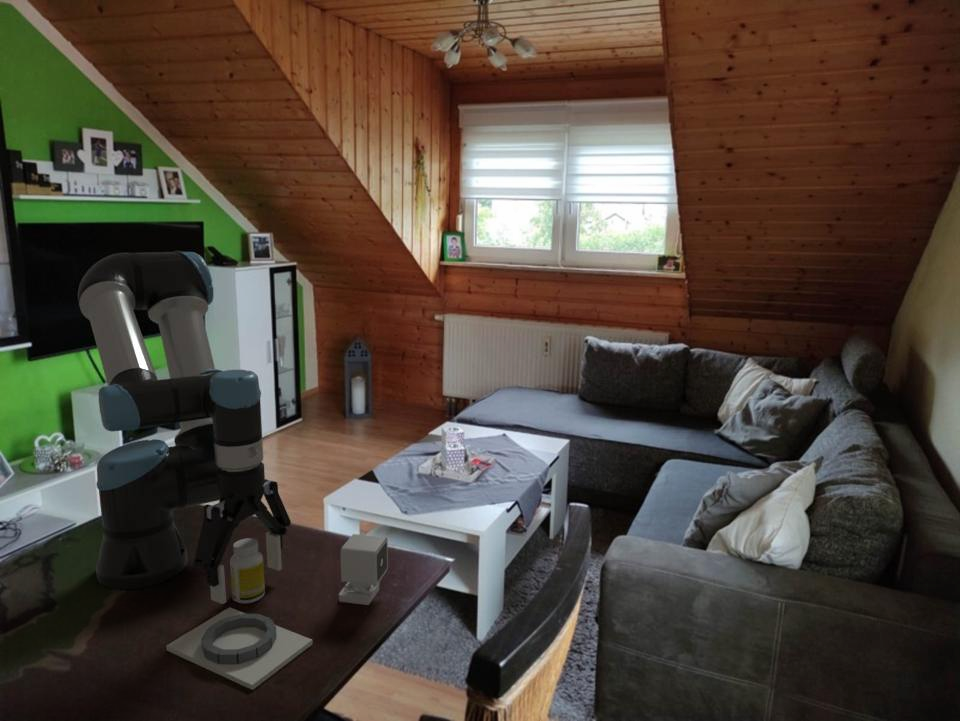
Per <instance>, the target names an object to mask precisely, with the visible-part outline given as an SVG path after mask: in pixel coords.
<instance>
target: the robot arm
mask: <svg viewBox="0 0 960 721" xmlns="http://www.w3.org/2000/svg"><path fill="white" fill-rule="evenodd" d="M211 275H212V274H211V271H210V269H209V266H208V264H207V263H206V261H205V259H204V257H202V256H201V255H200V254H198V253H196V252H193V251H181V250H174V251H165V252H164V251H163V252H162V251H161V252H160V251H158V252H157V251H154V252H153V251H152V252H150V251H149V252H118V253H114V254H110V255H107V256H105V257H103V258H101V259H100V260H99V261H97V262H96V263H94V264H93V265H92V266H91V267H90V268H88V270H87V271H86V273H85V274H84V275H83V277H82V279H80V283H79V286H78V290H77V301H78V305H79V308H80V312H81V313H82V315H83V316H84V317H85V318H86V319H87V320H89V322H90V323H89V324H90V325H91V329H92V333H93V336H94V341H95V344H96V348H97V352H98V354H99V357H100V362H101V366H102V370H103V373H104V377H105V380H106V384H107V385H105V386H103V387H101V388H100V389H98V390H99V391H98V405H99V406H98V407H99V414H100V417H101V418H100V419H101V424H102V426H103V428H104V430H106V431H109V432H121V431H136V430H139V429H145V428H151V427H157V426H158V427H159V426H164V425H165V426H166V425H170V424H176V423H178V424H179V427H180V429H179V431H178V433H177V434H175V436H174V439H173V440H174V441H173V442H174V446H169V445H168V444H167V442H166V441H164V440H161V439H150V440H149V439H144V440H137V441H134V442H130V443H126V444H123V445H119V446H117V447H115V448H113V449H111V450H110V451H108V452H107V453H105V454H103V456H101V458H100V459H99V460H98V462H97V465H96V478H97V481H96V483H95V484H96V488H97V489H98V492H99V493H98V495H99V503H100V504H99V506H100V514H101V524H102V532H103V533H102V534H103V536H102V541H101V543H100V544H101V545H100V549H99V553H98V559H97V561H96V563H95V571H96V579H97V582H98V583H99V584H100V585H102V586H103V587H105V588H108V589H114V590H133V589H140V588H141V589H142V588H145V587H150V586H154V585H156V584H160V583H162V582H166V581H168V580H169V579H172V578H173V577H175V576H176V575H178V574H179V573H181V572H182V571H183V570H184V569H185V567H186V566H187V564H188V562H189V561H188V552H187V550H188V549H187V547H186V545H185V542H184V540H183V539H182V536H181V535H180V533H179V531H178V529H177V526H176V525H175V521H174V520H175V518H174V511H176V510H180V509H185V508H189V507H194V506H200V505H204V504H205V505H204V506H203V522H202V527H201V531H200V534H199V539H198V543H197V546H196V551H195V555H194V557H193V558H194V559H193V566H194V567H197V568H199V569H201V570H205V580H206V584H207V586H210V598H211V599H210V600H211V601H213V602H216V603H218V604H220V605H223V604H225V603H227V590H226V578H225V577H226V576H225V566H224V564H221V562H222V559H223V558H224V555H225V554H226V553H225V552H226V550H227V548H228V546H229V543H230V540H231V538H232V536H233V533H234V530H235V529H236V528H238V527H239V525H240V523H241V522H242V521H244V520H246V519H248V517H252V516H256V517H257V518H258V519H259V521H261V523H262V524H263V525H264V526H265V527H266V528H267V530H269V531H270V532H266V533H265V544H266V547H265V548H266V560H267V561H266V562H267V568H269V569H271V570H272V569H273V570H275V571H278V572H279V571H281V570H282V568H283V567H282V549H283V546H284V545H283V536H284V535H286V534H287V533H288V529H287V528H288V527H290V526H291V523H292V522H291V518H290V516H289V514H288V512H287V510H286V507H285V504H284V502H283V500H282V498H281V496H280V493H279V487H278V486H279V484H278V482H277V481H274V480H272V479H271V480H270V479H267V478H265V477H266V476H265V474H266V473H265V463H264V462H263V461H264V444H263V425H262V409H261V407H262V406H261V396H262V391H261V389H260V383H259V376H258V374H257V373H255V372H254V371H252V370H245V369H230V370H229V369H228V370H220V369H216V366H215V363H214V359H213V355H212V350H211V346H210V341H209V337H208V333H207V329H206V324H205V320H204V316H206V313H207V312H208V310H209V305H211V304H212V302H213V300H214V294H215V293H214V286H213V279H212V276H211ZM135 310H137V311H138V310H139V311H140V310H146V312H147V316H148V318H149V320H150V321H152V322H153V323H156V324H157V325H158V328H159V332H160V337H161V341H162V342H161V343H162V346H163V352H164V356H165V361H166V365H167V370H168V376H169V378H163V379H158V376H157V373H156V370H155V368H154V365H153V362H152V360H151V357H150V353H149V351H148V349H147V345H146V343H145V340H144V339H145V338H144V337H143V334H142V332H141V329H140V326H139V323H138V320H137V317H136V314H135ZM263 496H264V498H265V499H264V500H265V501H266V503H267V505H268V506H266V504H265V503H264V502H263V501H262V499H263ZM217 501H218V502H217ZM214 502H217V503H214ZM208 503H214V504H212V505H211V504H208ZM268 507H269V509H270V511H269V510H268ZM228 518H229V519H230V520H228ZM286 527H287V528H286Z"/></svg>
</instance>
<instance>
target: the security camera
mask: <svg viewBox="0 0 960 721" xmlns="http://www.w3.org/2000/svg"><path fill="white" fill-rule="evenodd" d="M388 542H389V541H388V537H387V536H385V537H384V536H379V535H378V536H377V535H367V534H358V533H357V534H356V533H353V534H352V535H351V536H350V537H349V538H348V540H346V542H344V544H343V545H342V546H341V548H340V576H341V582H342V583H345V582H346V584H345V585H344V587H343V588H342V589H341V590H340V591H339V593H338V601H339V602H340V603H349V604H356V605H366V606H369V605H370V604H371V602H372V601H373V600H374V599H375V596H376V595H377V594H378V593H379V590H380V583H381V580H382V579H383V578H384V576H385V575H386V573H387V571H388V569H389V550H388V546H389V545H388V544H389V543H388Z"/></svg>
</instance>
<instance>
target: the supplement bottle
mask: <svg viewBox="0 0 960 721" xmlns="http://www.w3.org/2000/svg"><path fill="white" fill-rule="evenodd" d="M232 546H233V547H232V549H233V555H231V557H230V559H229V567H230V568H229V570H230V585H231V586H230V587H231V598H232V600H233V601H234V602H235V603H239V604H252V603H254V602H257V601H259V600H261V599H262V598H263V597H264V595H265V593H266V585H265V568H264V567H265V566H264V556H263V554H262V553H261V552H260V551H259V541H258V540H257V539H255V538H247V537H246V538H242V539H239V540H236V541H235V542H234V543H233V544H232Z"/></svg>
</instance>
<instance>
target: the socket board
mask: <svg viewBox="0 0 960 721" xmlns="http://www.w3.org/2000/svg"><path fill="white" fill-rule="evenodd" d="M313 644H314V642H313V639H312V638H309V637H306V636H304V635H301V634H299V633H297V632H293V631H292V630H289V629H286V628H284V627H281V626H278V625H276V624H275V622H274V620H273V619H272V618H270V617H268V616H265V615H263V614H260V613H246V612H243V611H240V610H238V609H235V608H232V607H231V606H229V607H228V608H225V609H224V610H223V611H220V612H219V613H218V614H216V615H214V616H213V617H211V618H210V619H208V620H206V621H205V622H203V623H201V624H199V625H198V626H196V627H194V628H193V629H192V630H189V631H188V632H185V633H184V634H183V635H182V636H180V637H178V638H176V639H175V640H173V641H172V642H170V643H169V644H168V643H167V645H166V646H165V647H166V651H168V652H170V653H171V654H174V655H175V656H177V657H180V658H182V659H184V660H187V661H188V662H190V663H194V664H195V665H197V666H200V667H201V668H205V669H206V670H208V671H211V672H213V673H214V674H217V675H219V676H222V677H223V678H225V679H227V680H230V681H232V682H235V683H237V684H238V685H240V686H243V687H245V688H247V689H249V690H252V691H253V690H255V689H256V688H257V687H259V686H260V685H261V684H263V683H264V682H266V681H267V680H268V679H269V678H271V677H272V676H273V675H275V674H277V672H278V671H280V669H283V668H284V667H285V666H286V665H288V664H289V663H290V662H291V661H293V660H294V659H296V658H297V657H298V656H299V655H301V654H302V653H303V652H305V651H306V650H307V649H308V648H310V647H311V646H312V645H313Z"/></svg>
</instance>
